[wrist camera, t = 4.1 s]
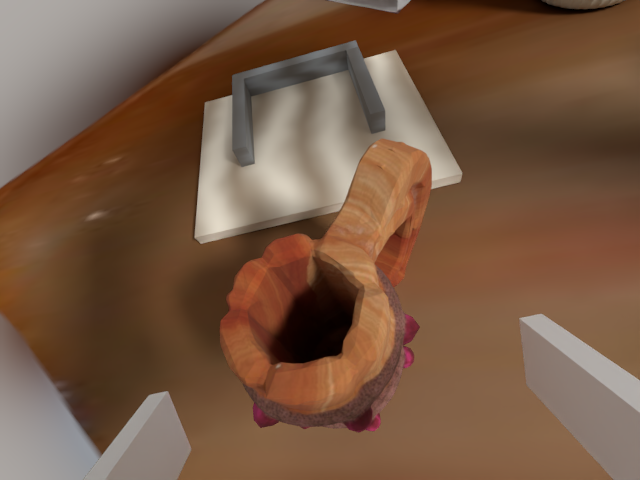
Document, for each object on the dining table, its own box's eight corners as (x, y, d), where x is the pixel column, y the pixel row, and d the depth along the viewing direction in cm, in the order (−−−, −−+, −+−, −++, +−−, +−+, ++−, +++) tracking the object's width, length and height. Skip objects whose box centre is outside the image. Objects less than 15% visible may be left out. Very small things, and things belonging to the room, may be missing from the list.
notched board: (395, 59, 41) (395, 29, 38) (460, 182, 29) (468, 153, 26) (209, 110, 43) (195, 85, 40) (200, 243, 31) (180, 223, 28)
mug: (360, 467, 20) (312, 542, 7) (266, 389, 23) (119, 347, 11) (454, 281, 25) (525, 130, 12) (365, 240, 28) (346, 88, 15)
